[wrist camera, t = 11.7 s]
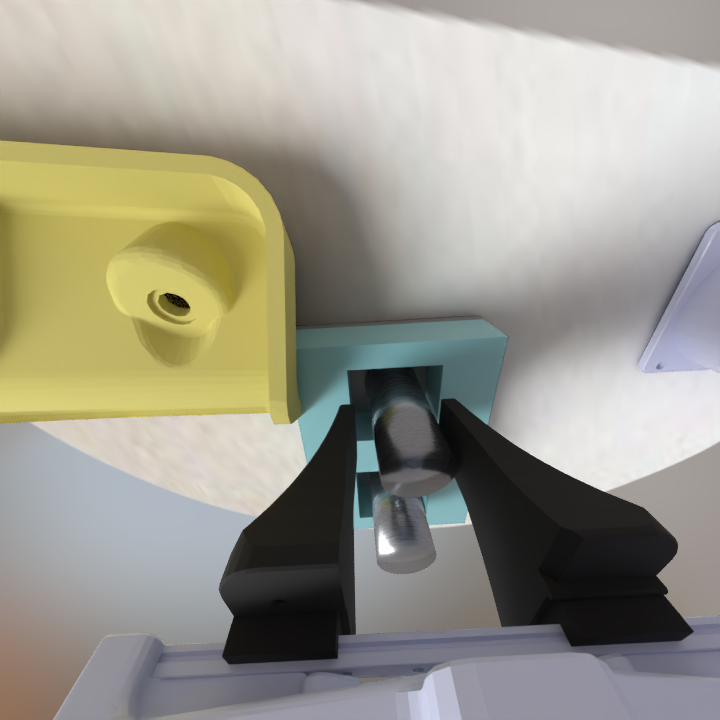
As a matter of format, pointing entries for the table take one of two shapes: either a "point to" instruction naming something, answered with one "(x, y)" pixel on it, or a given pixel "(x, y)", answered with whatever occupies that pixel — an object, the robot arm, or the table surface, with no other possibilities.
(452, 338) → the housing
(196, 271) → the plastic component
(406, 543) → the peg
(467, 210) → the table surface
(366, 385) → the peg
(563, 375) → the table surface
